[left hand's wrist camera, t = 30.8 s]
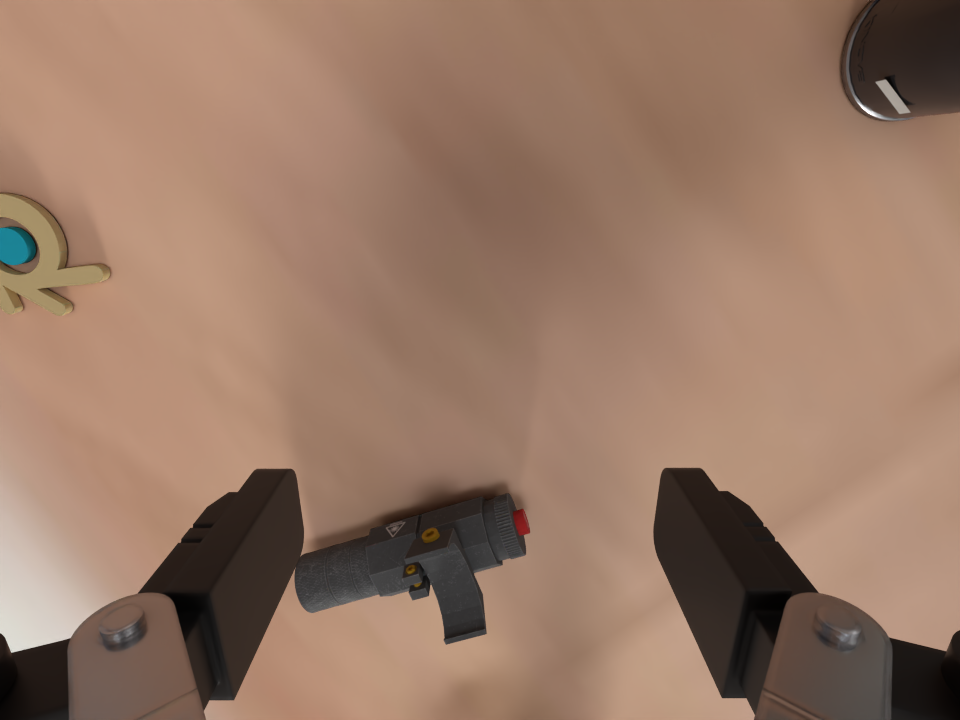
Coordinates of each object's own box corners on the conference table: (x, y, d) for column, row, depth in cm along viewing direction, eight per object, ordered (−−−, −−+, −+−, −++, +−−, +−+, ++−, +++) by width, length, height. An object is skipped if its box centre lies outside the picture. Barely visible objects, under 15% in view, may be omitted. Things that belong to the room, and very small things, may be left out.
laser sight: (298, 523, 53) (259, 600, 44) (508, 461, 51) (515, 527, 41) (338, 594, 56) (310, 680, 47) (537, 539, 54) (550, 617, 44)
